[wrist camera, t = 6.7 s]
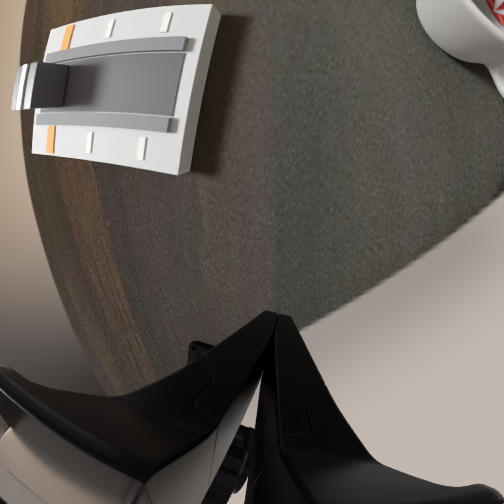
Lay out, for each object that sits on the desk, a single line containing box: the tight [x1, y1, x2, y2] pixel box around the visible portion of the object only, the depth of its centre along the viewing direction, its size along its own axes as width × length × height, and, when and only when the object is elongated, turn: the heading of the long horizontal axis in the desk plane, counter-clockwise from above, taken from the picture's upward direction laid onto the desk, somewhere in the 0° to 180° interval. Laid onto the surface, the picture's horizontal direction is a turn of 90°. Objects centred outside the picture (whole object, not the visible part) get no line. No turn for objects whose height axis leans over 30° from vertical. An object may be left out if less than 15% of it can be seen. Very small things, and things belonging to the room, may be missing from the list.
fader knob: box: [11, 62, 69, 110], centre depth 15 cm, size 4×3×4 cm
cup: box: [416, 0, 504, 98], centre depth 9 cm, size 11×8×8 cm
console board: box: [32, 4, 221, 175], centre depth 18 cm, size 12×16×2 cm
